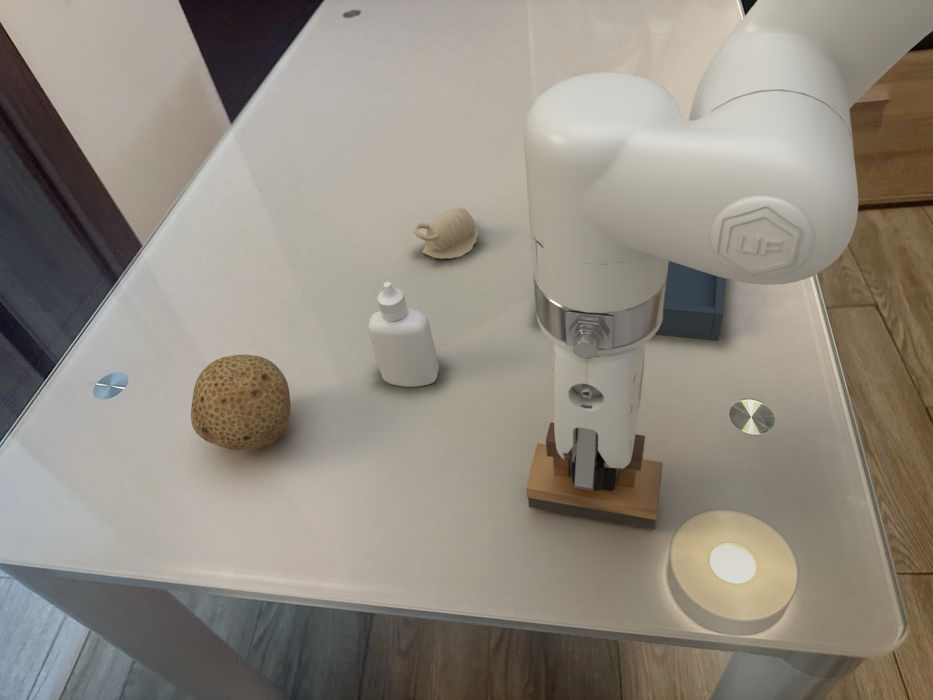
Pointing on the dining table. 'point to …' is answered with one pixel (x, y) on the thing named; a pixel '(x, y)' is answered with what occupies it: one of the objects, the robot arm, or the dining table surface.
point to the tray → (692, 303)
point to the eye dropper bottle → (402, 341)
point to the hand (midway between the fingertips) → (596, 469)
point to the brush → (622, 505)
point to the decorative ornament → (449, 234)
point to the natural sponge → (240, 403)
